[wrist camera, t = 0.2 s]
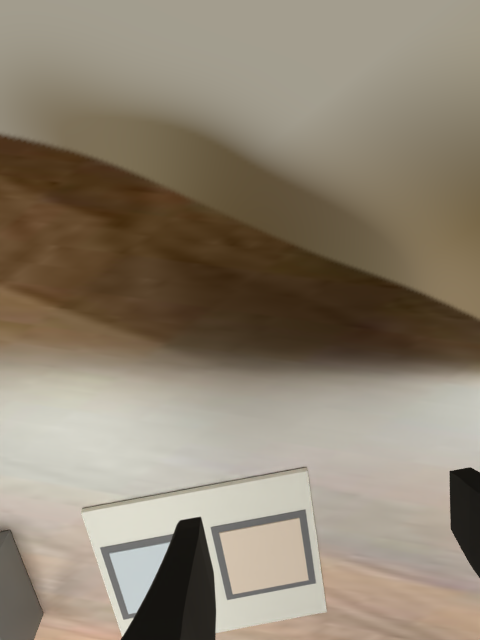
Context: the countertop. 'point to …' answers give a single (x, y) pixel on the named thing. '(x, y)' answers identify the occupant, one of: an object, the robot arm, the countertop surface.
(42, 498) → the countertop surface
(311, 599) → the sheet
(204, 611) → the robot arm
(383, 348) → the countertop surface
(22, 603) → the button housing
